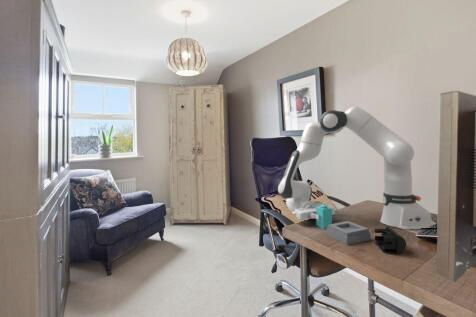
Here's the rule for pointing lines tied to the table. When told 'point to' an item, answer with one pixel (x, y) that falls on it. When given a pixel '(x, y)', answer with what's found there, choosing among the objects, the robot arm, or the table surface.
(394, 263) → the table surface
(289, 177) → the robot arm
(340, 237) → the base plate
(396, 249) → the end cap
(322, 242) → the table surface
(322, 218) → the teal brick
